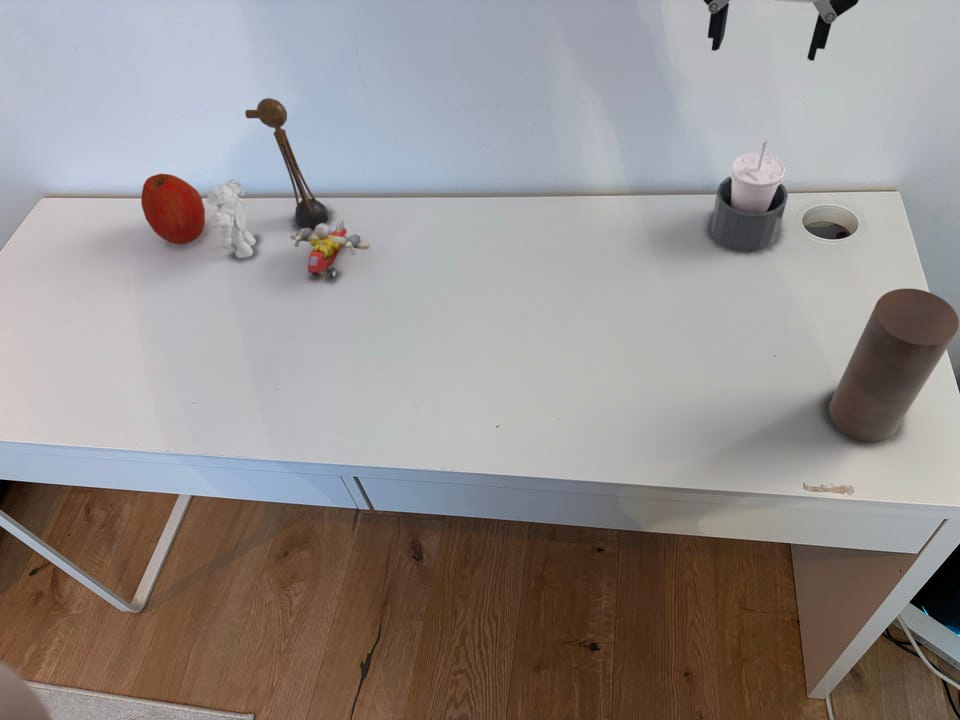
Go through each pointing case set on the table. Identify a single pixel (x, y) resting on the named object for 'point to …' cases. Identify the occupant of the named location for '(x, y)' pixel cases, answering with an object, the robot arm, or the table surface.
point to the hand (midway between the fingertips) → (763, 48)
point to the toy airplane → (327, 246)
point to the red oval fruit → (173, 208)
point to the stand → (892, 363)
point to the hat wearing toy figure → (231, 217)
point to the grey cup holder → (746, 221)
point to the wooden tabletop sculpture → (290, 163)
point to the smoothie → (755, 181)
